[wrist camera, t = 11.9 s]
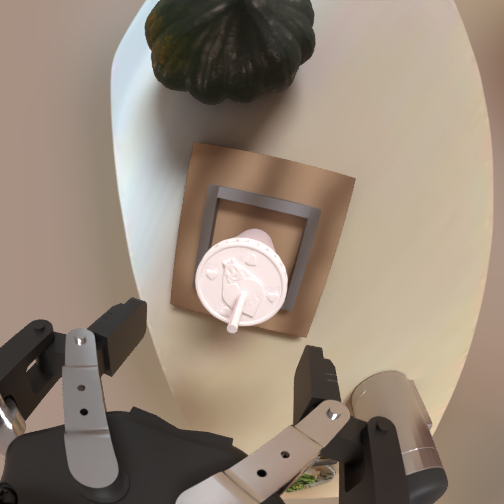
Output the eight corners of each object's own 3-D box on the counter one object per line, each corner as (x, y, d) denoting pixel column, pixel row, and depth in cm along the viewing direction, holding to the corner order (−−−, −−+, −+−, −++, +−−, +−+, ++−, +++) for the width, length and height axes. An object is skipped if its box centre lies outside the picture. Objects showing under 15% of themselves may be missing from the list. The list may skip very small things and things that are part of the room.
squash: (142, -5, 17) (89, 11, 9) (279, -43, 15) (331, -57, 7) (185, 89, 29) (172, 160, 21) (304, 58, 27) (354, 115, 19)
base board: (351, 177, 27) (359, 179, 23) (305, 328, 32) (306, 345, 29) (199, 143, 27) (188, 140, 24) (176, 296, 33) (165, 309, 30)
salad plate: (317, 437, 39) (318, 457, 35) (354, 468, 42) (357, 484, 38) (231, 461, 44) (227, 479, 40) (278, 489, 47) (277, 504, 43)
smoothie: (237, 284, 29) (203, 374, 16) (212, 228, 28) (151, 286, 14) (296, 264, 28) (304, 350, 15) (272, 205, 26) (261, 245, 13)
